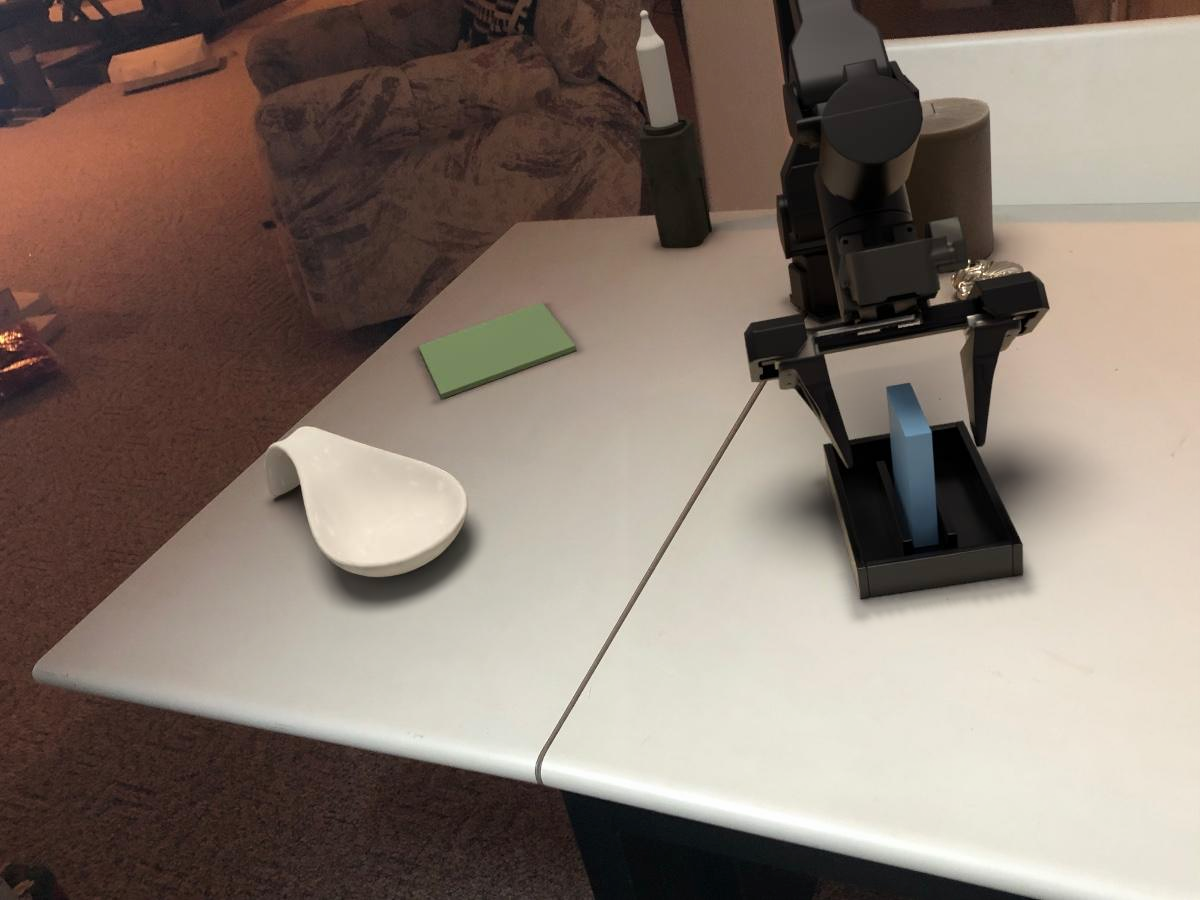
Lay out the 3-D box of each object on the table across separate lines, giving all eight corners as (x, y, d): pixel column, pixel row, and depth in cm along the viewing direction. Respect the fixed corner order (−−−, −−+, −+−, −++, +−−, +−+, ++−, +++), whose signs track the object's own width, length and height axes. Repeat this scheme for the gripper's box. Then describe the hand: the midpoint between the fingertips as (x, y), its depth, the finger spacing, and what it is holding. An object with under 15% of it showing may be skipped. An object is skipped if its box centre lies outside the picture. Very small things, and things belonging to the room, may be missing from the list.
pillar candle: (930, 283, 102) (921, 128, 94) (871, 252, 110) (858, 107, 102) (1016, 248, 104) (1014, 93, 96) (951, 220, 112) (945, 75, 104)
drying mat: (543, 306, 116) (542, 301, 116) (576, 350, 106) (575, 345, 106) (419, 350, 114) (418, 345, 114) (442, 399, 104) (440, 394, 104)
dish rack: (827, 482, 81) (822, 443, 79) (965, 459, 79) (963, 420, 77) (861, 610, 69) (857, 569, 67) (1023, 586, 68) (1023, 544, 66)
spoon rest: (508, 531, 84) (482, 457, 80) (390, 622, 78) (356, 547, 74) (343, 452, 100) (316, 386, 96) (235, 523, 94) (200, 456, 90)
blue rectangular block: (895, 494, 76) (885, 386, 71) (918, 490, 76) (910, 382, 71) (913, 548, 71) (905, 436, 66) (938, 544, 71) (931, 432, 66)
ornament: (928, 307, 98) (926, 271, 96) (980, 277, 101) (979, 241, 99) (1000, 332, 92) (999, 294, 90) (1053, 299, 95) (1054, 261, 93)
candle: (674, 227, 126) (631, 5, 112) (715, 227, 124) (675, 0, 110) (657, 247, 122) (610, 20, 109) (699, 247, 120) (656, 15, 106)
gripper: (723, 210, 66) (767, 459, 63) (1040, 146, 63) (1103, 403, 60) (732, 272, 76) (769, 487, 73) (1003, 219, 74) (1054, 441, 71)
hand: (915, 456), depth 69 cm, fingers open, 8 cm apart
